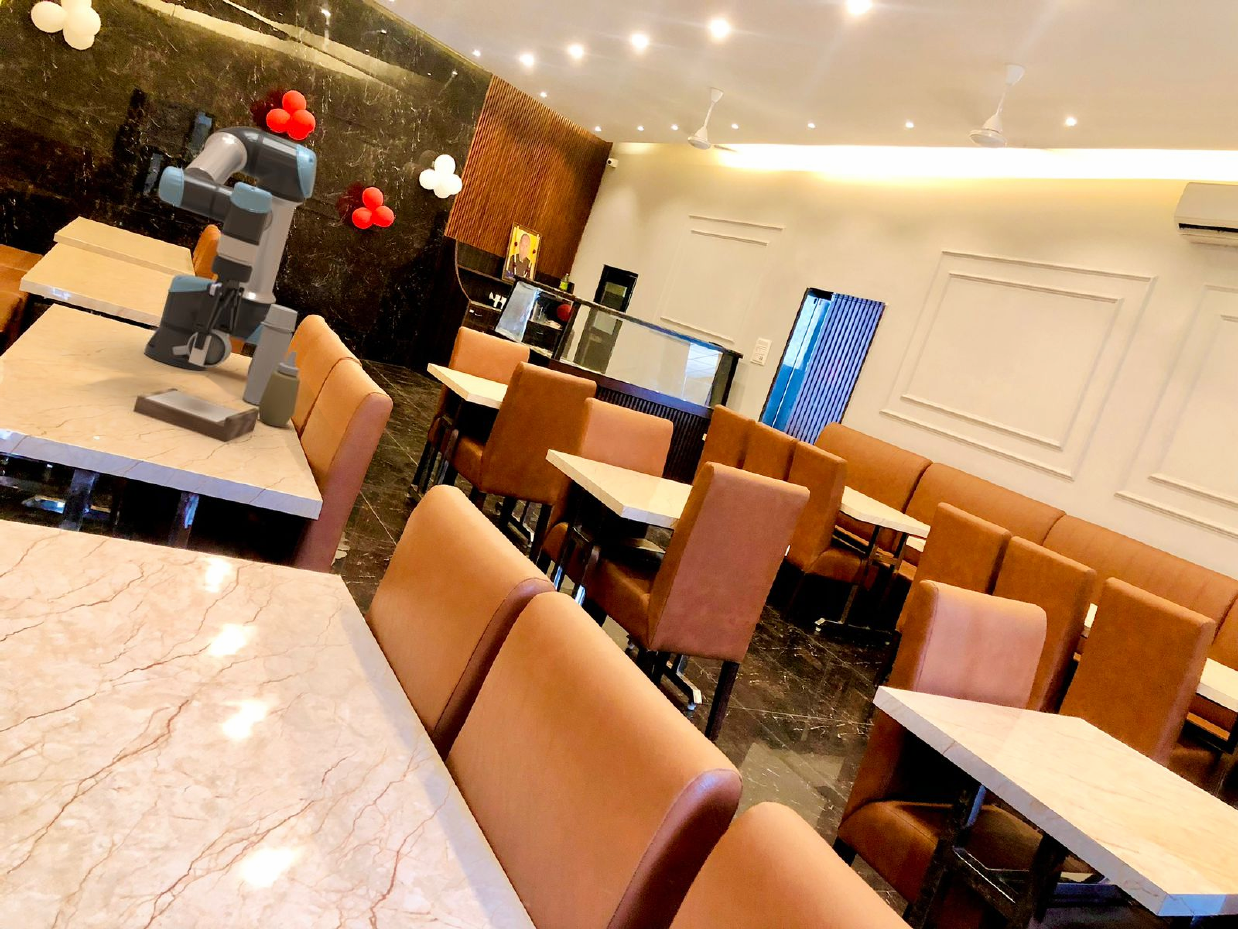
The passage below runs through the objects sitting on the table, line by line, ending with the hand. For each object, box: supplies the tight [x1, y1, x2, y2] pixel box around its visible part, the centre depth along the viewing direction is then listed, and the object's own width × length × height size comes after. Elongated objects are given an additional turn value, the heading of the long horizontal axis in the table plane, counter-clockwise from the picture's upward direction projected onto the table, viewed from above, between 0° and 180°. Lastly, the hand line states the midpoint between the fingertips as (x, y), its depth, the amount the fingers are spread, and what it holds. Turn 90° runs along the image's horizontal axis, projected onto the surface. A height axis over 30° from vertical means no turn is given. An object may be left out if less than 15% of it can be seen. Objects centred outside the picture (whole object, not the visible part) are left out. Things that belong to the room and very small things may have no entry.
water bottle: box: [242, 303, 298, 406], centre depth 220 cm, size 9×8×25 cm
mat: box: [145, 390, 241, 423], centre depth 187 cm, size 14×15×1 cm
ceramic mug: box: [173, 330, 232, 368], centre depth 185 cm, size 11×8×8 cm
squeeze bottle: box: [258, 350, 301, 428], centre depth 207 cm, size 8×8×18 cm
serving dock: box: [133, 387, 260, 443], centre depth 188 cm, size 16×19×5 cm
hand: (205, 362), depth 186 cm, fingers closed on ceramic mug, 9 cm apart
